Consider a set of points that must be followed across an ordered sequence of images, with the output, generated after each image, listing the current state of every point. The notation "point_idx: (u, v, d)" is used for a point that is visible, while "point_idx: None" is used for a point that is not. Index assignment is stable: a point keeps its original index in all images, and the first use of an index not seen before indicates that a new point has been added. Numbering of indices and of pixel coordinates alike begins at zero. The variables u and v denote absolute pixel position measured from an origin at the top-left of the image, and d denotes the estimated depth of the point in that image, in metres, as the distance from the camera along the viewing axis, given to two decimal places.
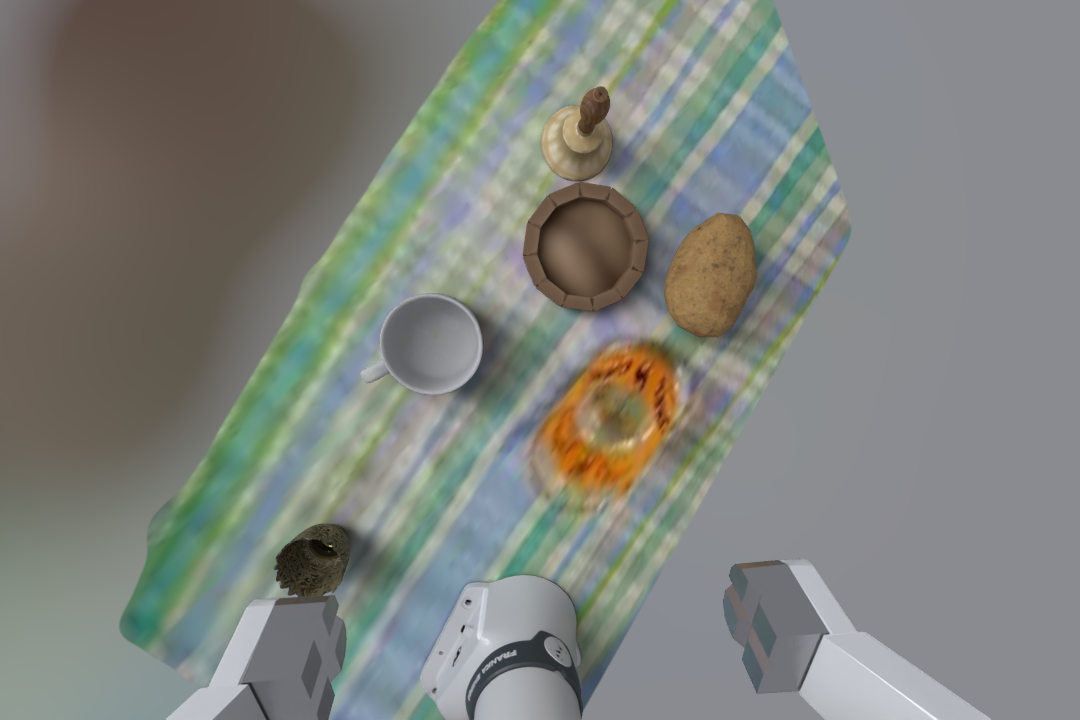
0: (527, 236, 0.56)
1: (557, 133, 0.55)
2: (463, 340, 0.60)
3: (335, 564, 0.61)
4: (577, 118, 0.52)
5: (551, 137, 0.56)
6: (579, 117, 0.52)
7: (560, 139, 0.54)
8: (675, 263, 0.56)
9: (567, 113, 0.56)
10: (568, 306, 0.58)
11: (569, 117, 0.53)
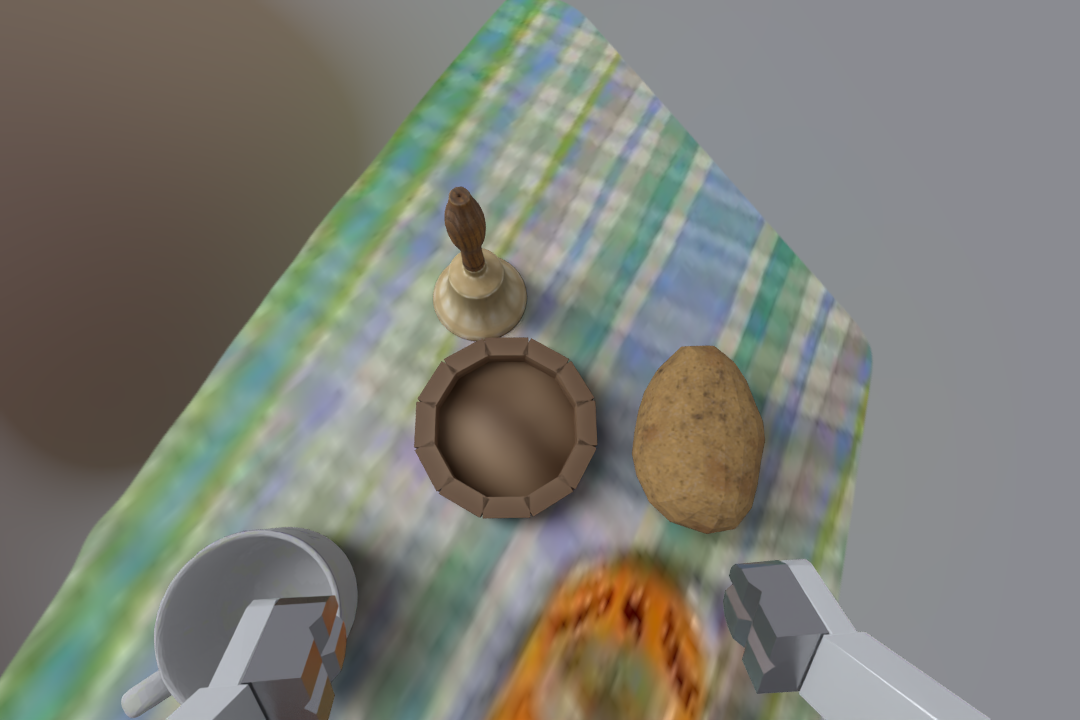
0: (418, 420, 0.39)
1: (447, 284, 0.42)
2: None
3: None
4: None
5: (442, 292, 0.43)
6: None
7: (449, 289, 0.41)
8: (639, 424, 0.38)
9: None
10: (491, 515, 0.37)
11: (454, 259, 0.40)
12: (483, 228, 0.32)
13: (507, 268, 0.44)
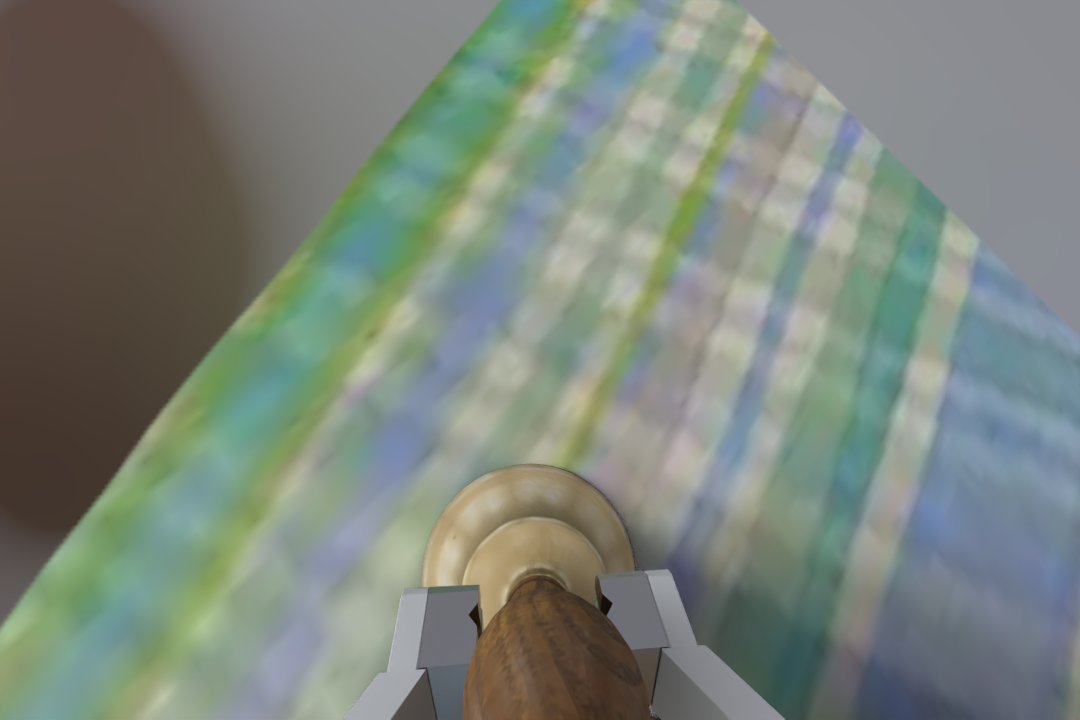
0: None
1: None
2: None
3: None
4: (505, 565, 0.14)
5: None
6: (512, 560, 0.14)
7: None
8: None
9: (484, 505, 0.19)
10: None
11: (477, 560, 0.15)
12: None
13: (593, 512, 0.19)
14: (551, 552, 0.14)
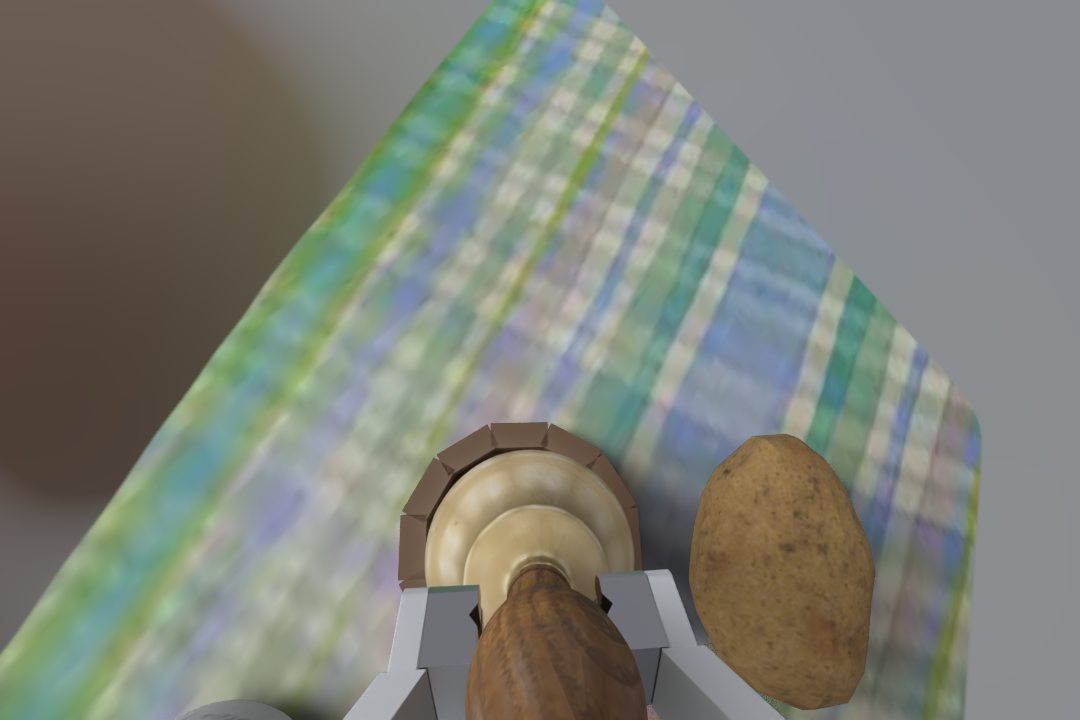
0: (403, 541, 0.29)
1: (458, 573, 0.17)
2: None
3: None
4: (506, 553, 0.14)
5: (447, 572, 0.18)
6: (512, 548, 0.15)
7: None
8: (701, 547, 0.28)
9: (485, 491, 0.19)
10: None
11: (479, 548, 0.15)
12: None
13: (593, 497, 0.19)
14: (550, 539, 0.15)
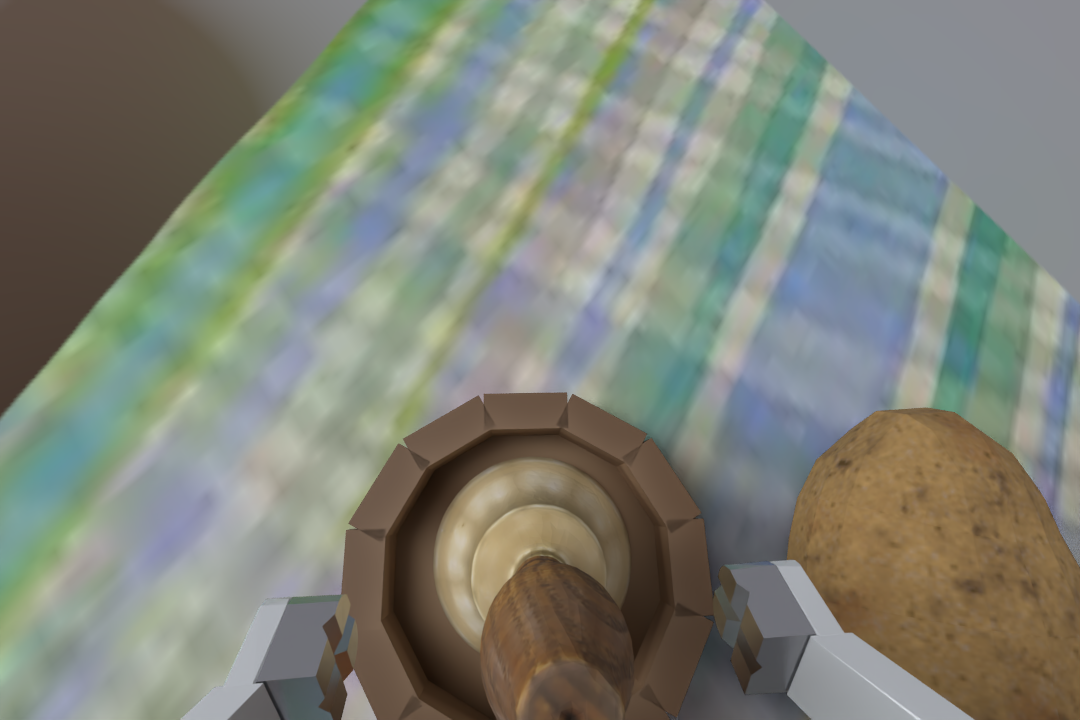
0: (348, 570, 0.19)
1: (465, 570, 0.18)
2: None
3: None
4: (511, 548, 0.16)
5: (454, 571, 0.19)
6: (517, 543, 0.16)
7: None
8: None
9: (490, 495, 0.20)
10: None
11: (486, 544, 0.16)
12: None
13: (592, 500, 0.21)
14: (552, 535, 0.16)
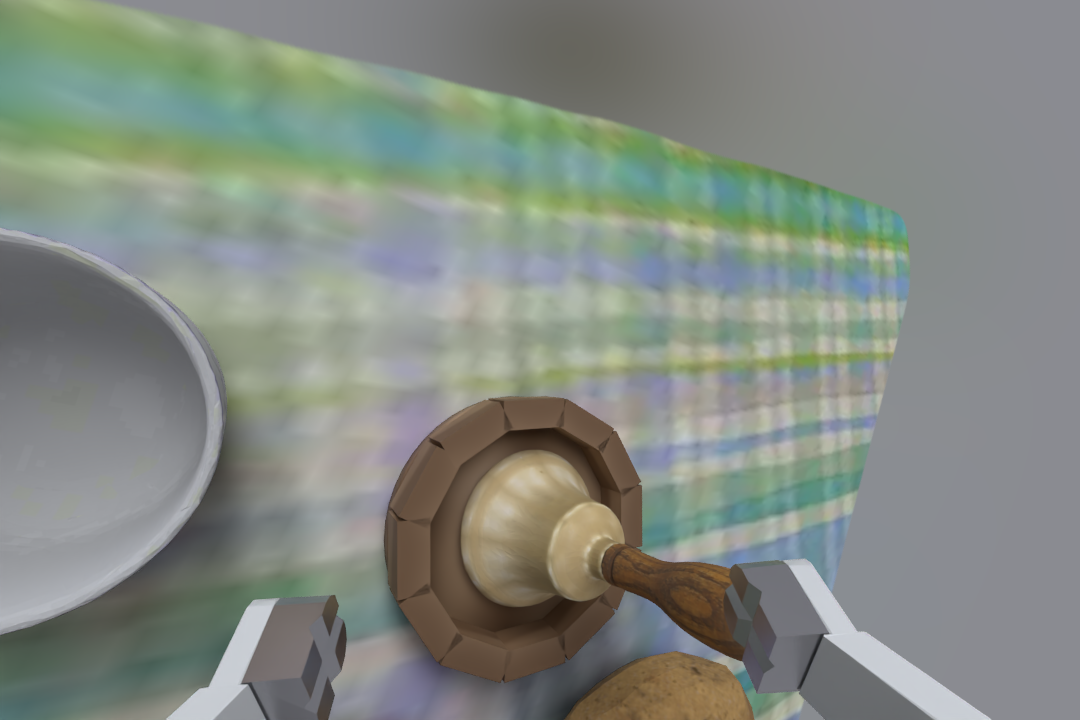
0: (477, 421, 0.24)
1: (537, 498, 0.24)
2: (118, 471, 0.19)
3: None
4: (602, 526, 0.23)
5: (516, 487, 0.25)
6: (606, 527, 0.23)
7: (537, 519, 0.23)
8: (627, 699, 0.26)
9: (567, 476, 0.27)
10: (409, 614, 0.23)
11: (590, 508, 0.23)
12: None
13: None
14: None
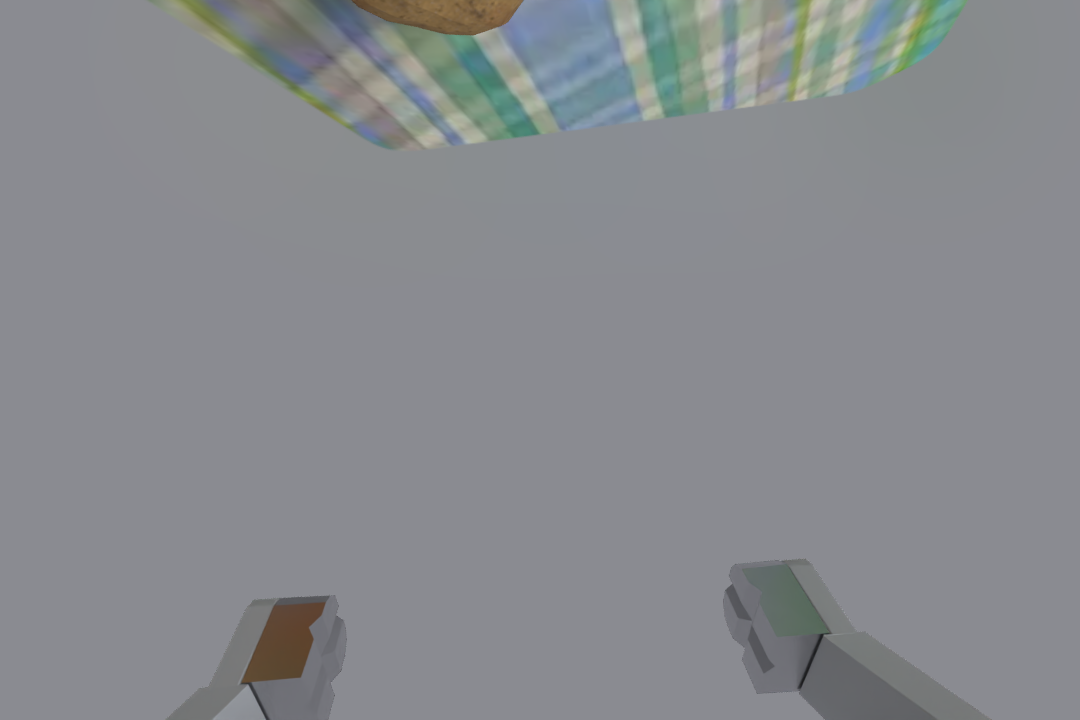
0: None
1: None
2: None
3: None
4: None
5: None
6: None
7: None
8: None
9: None
10: None
11: None
12: None
13: None
14: None
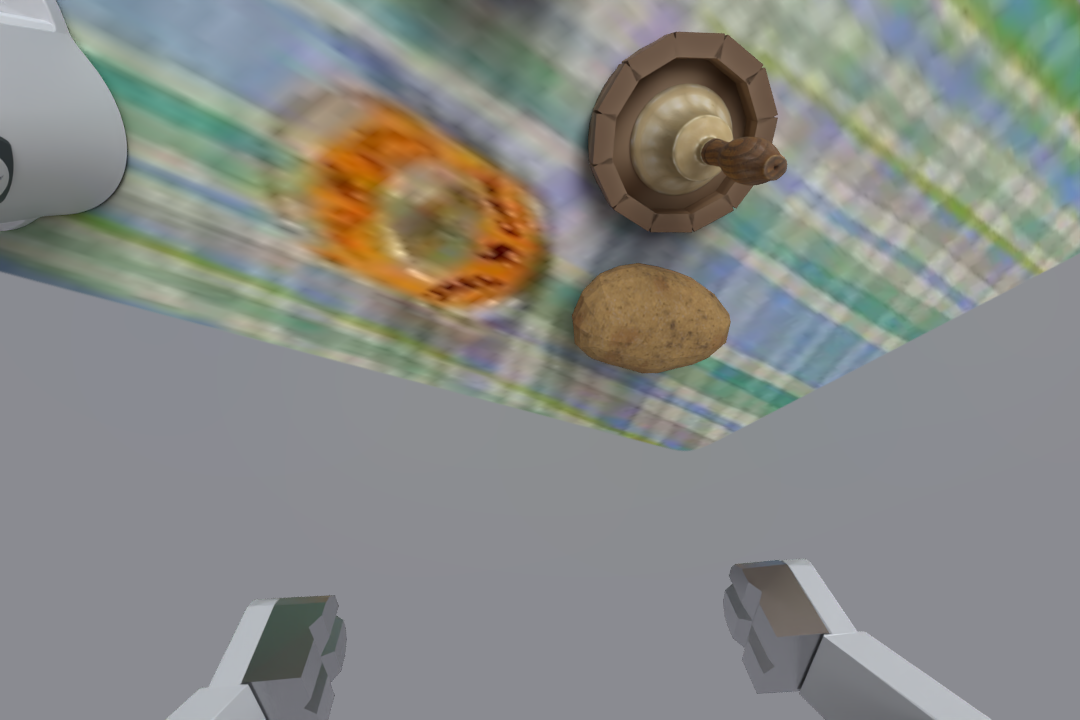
0: (704, 36, 0.35)
1: (699, 107, 0.37)
2: None
3: None
4: (722, 137, 0.35)
5: (692, 99, 0.37)
6: (723, 140, 0.35)
7: (691, 112, 0.36)
8: (666, 273, 0.42)
9: None
10: (598, 123, 0.37)
11: (723, 124, 0.35)
12: (738, 182, 0.29)
13: None
14: None
